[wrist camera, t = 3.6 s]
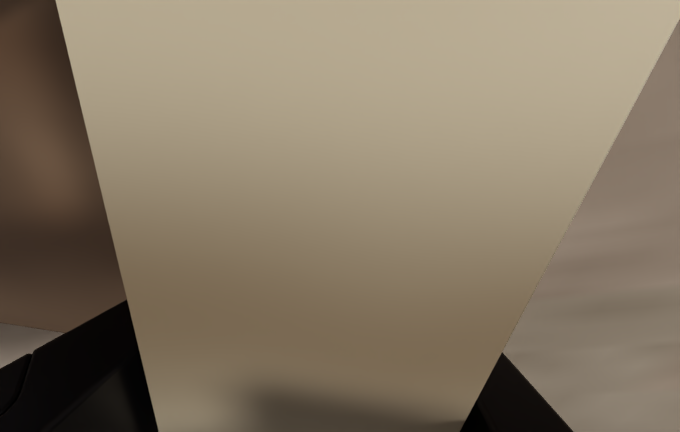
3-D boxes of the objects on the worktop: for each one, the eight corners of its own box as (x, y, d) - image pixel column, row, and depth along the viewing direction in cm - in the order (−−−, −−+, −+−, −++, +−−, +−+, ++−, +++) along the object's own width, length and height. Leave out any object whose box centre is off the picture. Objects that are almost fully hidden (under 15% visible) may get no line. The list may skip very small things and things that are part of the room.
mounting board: (431, 361, 16) (435, 391, 15) (-21, 290, 16) (-56, 313, 15) (773, -516, 6) (896, -681, 4) (-520, -680, 6) (-781, -883, 4)
